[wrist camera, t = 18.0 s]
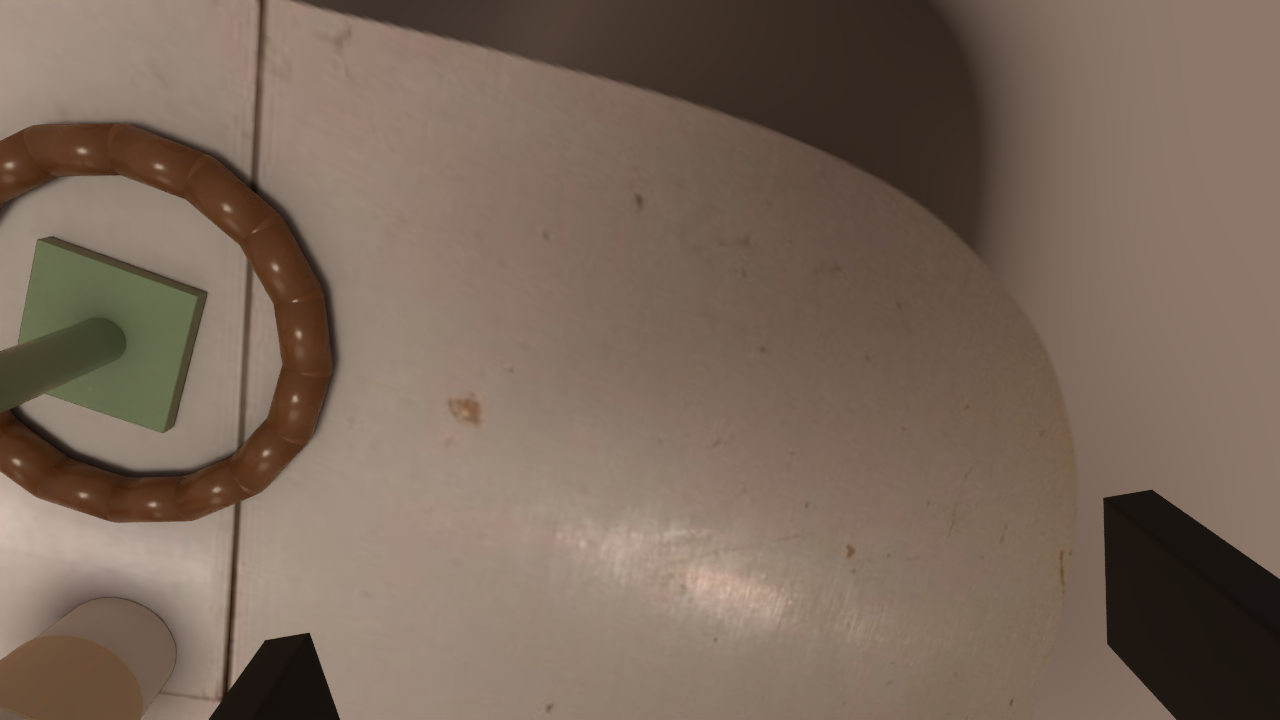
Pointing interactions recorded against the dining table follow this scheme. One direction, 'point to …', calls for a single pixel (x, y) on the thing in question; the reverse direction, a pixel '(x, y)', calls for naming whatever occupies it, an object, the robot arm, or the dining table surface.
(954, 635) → the dining table surface
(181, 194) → the ring
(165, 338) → the post
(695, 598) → the dining table surface
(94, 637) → the coffee cup
